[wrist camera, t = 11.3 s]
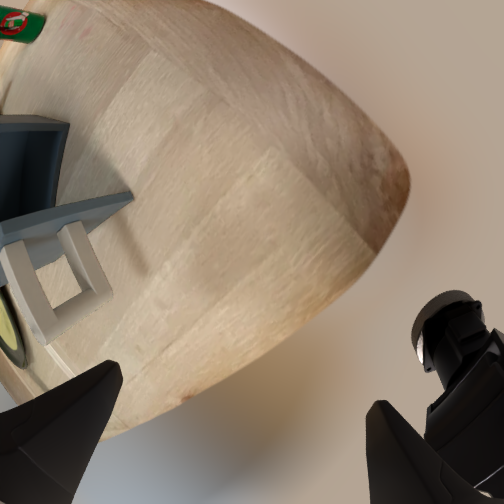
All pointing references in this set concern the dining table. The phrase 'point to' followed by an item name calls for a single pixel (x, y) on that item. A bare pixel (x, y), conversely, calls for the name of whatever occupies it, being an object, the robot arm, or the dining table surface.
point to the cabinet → (29, 163)
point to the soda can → (19, 25)
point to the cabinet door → (49, 250)
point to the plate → (10, 336)
